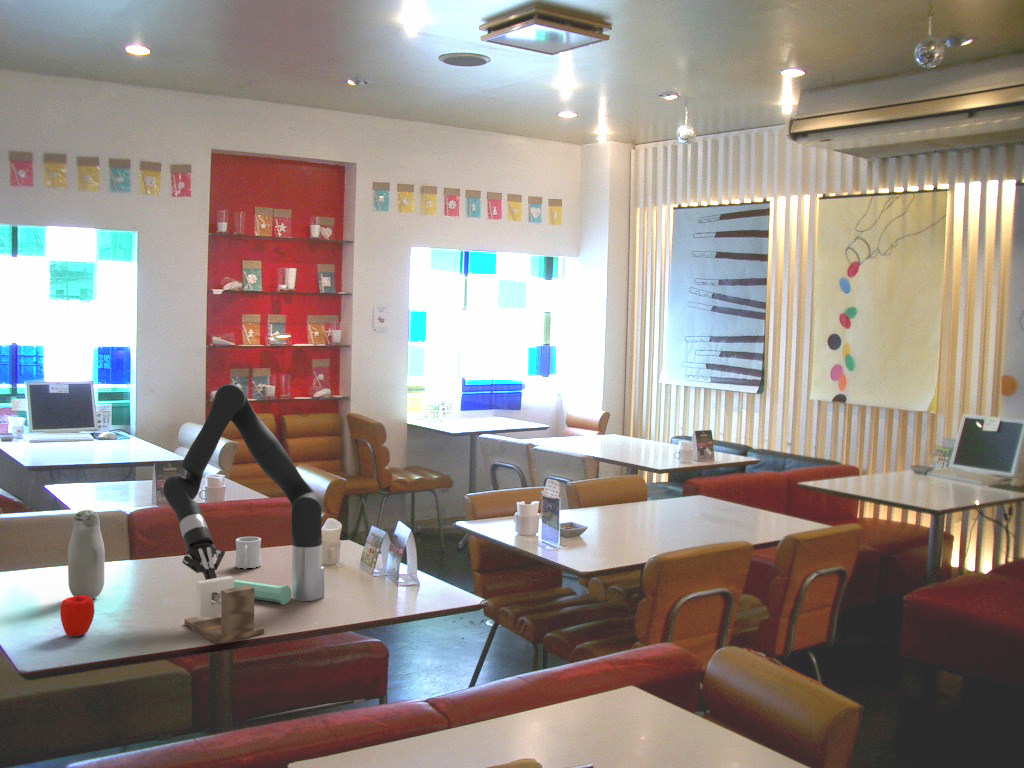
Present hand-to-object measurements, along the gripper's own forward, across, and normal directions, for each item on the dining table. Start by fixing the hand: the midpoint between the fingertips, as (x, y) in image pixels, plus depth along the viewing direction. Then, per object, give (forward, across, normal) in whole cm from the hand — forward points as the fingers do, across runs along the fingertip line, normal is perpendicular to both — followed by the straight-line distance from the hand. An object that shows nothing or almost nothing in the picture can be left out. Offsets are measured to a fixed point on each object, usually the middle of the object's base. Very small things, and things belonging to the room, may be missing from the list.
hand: (212, 582), depth 280 cm
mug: (-29, +36, +46) cm, 65 cm away
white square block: (+8, 0, +5) cm, 9 cm away
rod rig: (+14, 0, +3) cm, 14 cm away
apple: (+1, -34, +16) cm, 38 cm away
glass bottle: (-24, -21, +41) cm, 52 cm away
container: (-5, +23, +18) cm, 30 cm away
